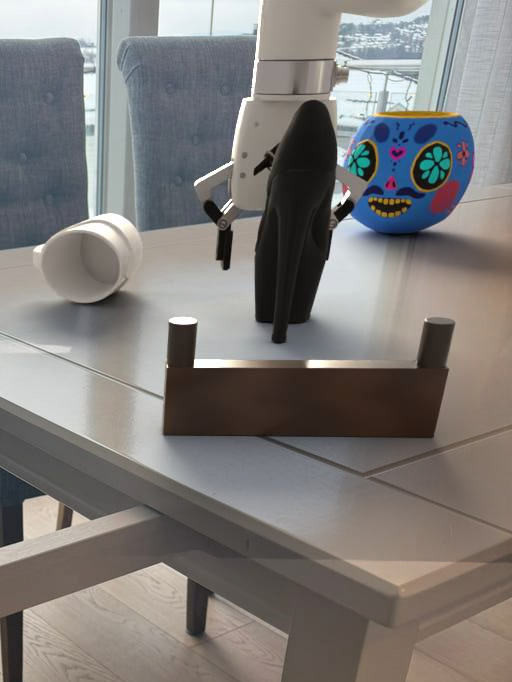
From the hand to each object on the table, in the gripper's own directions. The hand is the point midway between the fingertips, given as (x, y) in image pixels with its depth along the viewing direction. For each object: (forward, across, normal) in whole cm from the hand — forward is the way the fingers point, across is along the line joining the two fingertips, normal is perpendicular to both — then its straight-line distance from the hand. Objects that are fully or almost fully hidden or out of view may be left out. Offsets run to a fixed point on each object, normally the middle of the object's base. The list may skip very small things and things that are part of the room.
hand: (270, 267), depth 100 cm
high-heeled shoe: (+4, 0, +9) cm, 9 cm away
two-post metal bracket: (+4, +3, +40) cm, 40 cm away
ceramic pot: (+4, -24, -42) cm, 49 cm away
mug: (+4, +20, -3) cm, 21 cm away
